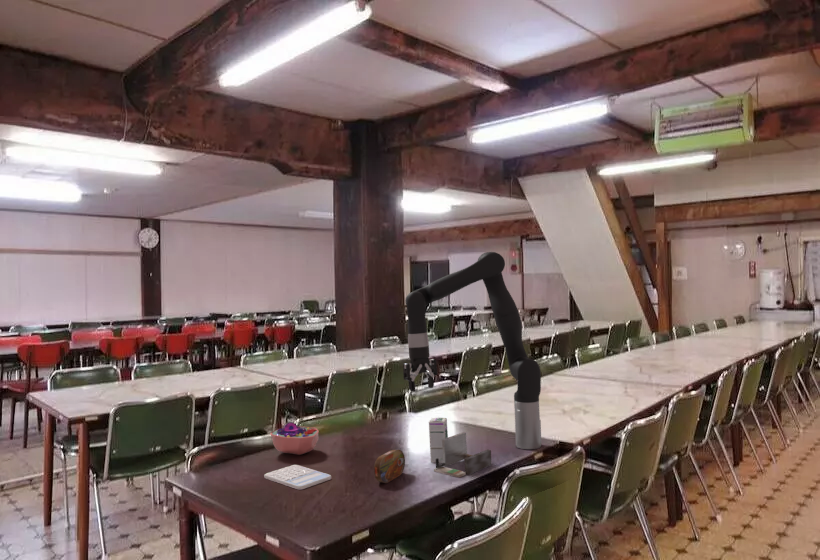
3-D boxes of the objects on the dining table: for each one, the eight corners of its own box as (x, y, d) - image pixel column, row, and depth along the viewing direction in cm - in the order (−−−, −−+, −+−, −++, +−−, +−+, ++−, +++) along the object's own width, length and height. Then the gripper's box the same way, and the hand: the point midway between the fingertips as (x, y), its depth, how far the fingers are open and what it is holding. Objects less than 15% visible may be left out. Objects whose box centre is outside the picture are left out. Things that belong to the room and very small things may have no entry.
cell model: (289, 464, 204) (288, 432, 204) (263, 453, 219) (262, 423, 219) (329, 453, 215) (328, 423, 215) (302, 443, 230) (301, 415, 230)
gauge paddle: (464, 457, 202) (463, 432, 202) (466, 458, 201) (466, 432, 201) (435, 469, 190) (434, 442, 190) (437, 469, 189) (436, 442, 189)
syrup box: (446, 463, 198) (445, 421, 198) (430, 462, 199) (428, 421, 200) (449, 458, 204) (447, 417, 204) (432, 457, 205) (431, 417, 205)
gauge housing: (466, 458, 203) (466, 444, 203) (493, 464, 195) (492, 449, 195) (433, 471, 190) (433, 456, 190) (461, 478, 182) (460, 462, 182)
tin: (381, 486, 177) (380, 459, 177) (372, 485, 179) (371, 458, 179) (406, 472, 190) (405, 446, 190) (398, 471, 192) (397, 445, 192)
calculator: (295, 468, 200) (295, 463, 200) (333, 480, 186) (332, 474, 186) (262, 479, 190) (262, 473, 190) (299, 491, 176) (299, 485, 177)
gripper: (409, 347, 203) (413, 393, 203) (439, 343, 212) (443, 387, 212) (397, 347, 209) (400, 391, 209) (427, 343, 218) (430, 385, 217)
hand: (421, 389), depth 210 cm, fingers open, 8 cm apart
